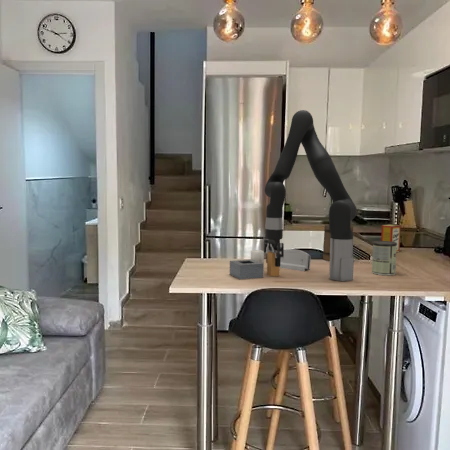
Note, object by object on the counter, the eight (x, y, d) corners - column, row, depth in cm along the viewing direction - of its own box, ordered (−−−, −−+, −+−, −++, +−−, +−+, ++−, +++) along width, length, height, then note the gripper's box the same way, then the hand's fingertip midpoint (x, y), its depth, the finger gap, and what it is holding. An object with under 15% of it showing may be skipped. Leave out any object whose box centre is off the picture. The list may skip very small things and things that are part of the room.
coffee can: (371, 270, 220) (372, 240, 219) (395, 271, 217) (396, 241, 216) (371, 274, 210) (372, 243, 209) (396, 276, 207) (397, 244, 206)
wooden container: (355, 262, 243) (357, 219, 241) (327, 262, 242) (328, 219, 240) (346, 257, 257) (348, 216, 255) (319, 257, 257) (321, 216, 255)
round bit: (265, 271, 216) (266, 251, 215) (253, 272, 214) (254, 252, 213) (260, 268, 222) (260, 249, 221) (248, 269, 220) (248, 250, 219)
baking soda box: (390, 253, 273) (392, 225, 272) (380, 251, 278) (381, 224, 277) (399, 251, 279) (400, 224, 278) (389, 250, 284) (390, 223, 283)
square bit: (279, 275, 206) (279, 252, 206) (271, 276, 205) (271, 253, 204) (275, 273, 210) (275, 251, 209) (266, 274, 209) (267, 251, 208)
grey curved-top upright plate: (274, 266, 227) (278, 246, 229) (279, 268, 231) (283, 248, 232) (304, 271, 217) (309, 250, 218) (309, 273, 220) (313, 252, 222)
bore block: (263, 277, 202) (263, 263, 201) (239, 279, 198) (239, 265, 197) (252, 272, 212) (252, 259, 212) (229, 274, 208) (229, 260, 207)
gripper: (289, 229, 201) (288, 267, 202) (274, 226, 214) (273, 261, 216) (273, 229, 198) (272, 268, 200) (259, 226, 211) (258, 262, 213)
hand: (273, 264), depth 208 cm, fingers open, 8 cm apart
